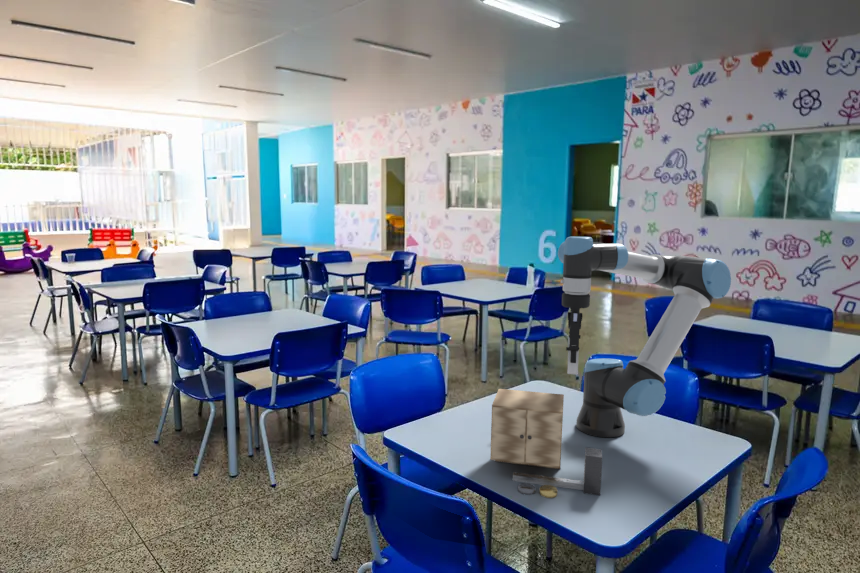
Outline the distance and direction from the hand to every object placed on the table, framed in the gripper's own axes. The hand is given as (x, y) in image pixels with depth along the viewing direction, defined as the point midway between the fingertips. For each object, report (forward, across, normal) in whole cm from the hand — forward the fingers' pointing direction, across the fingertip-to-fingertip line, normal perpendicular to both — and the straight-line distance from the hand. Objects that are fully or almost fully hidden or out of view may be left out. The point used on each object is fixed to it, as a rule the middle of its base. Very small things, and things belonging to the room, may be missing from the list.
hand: (572, 367), depth 158 cm
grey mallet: (+27, +18, -3) cm, 32 cm away
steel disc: (+27, +23, -10) cm, 37 cm away
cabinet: (+27, +12, -11) cm, 31 cm away
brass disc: (+27, +23, -5) cm, 36 cm away
